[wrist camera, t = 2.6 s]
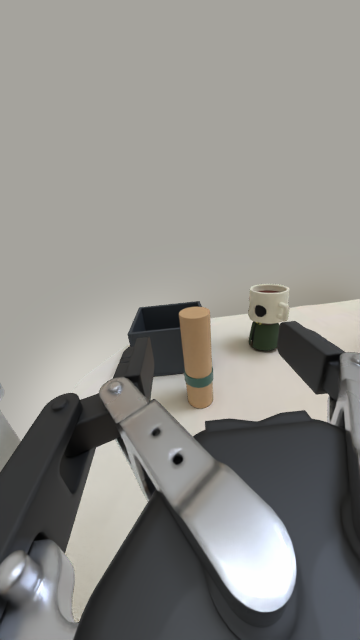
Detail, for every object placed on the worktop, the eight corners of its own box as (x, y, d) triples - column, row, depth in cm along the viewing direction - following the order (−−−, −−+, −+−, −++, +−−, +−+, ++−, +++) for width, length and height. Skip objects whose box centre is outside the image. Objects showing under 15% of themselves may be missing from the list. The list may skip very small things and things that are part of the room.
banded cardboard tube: (188, 410, 29) (178, 320, 23) (186, 389, 33) (177, 308, 27) (216, 407, 29) (214, 316, 23) (211, 387, 33) (207, 304, 27)
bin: (137, 378, 37) (127, 334, 33) (145, 342, 49) (139, 307, 45) (211, 370, 37) (210, 325, 33) (201, 336, 49) (199, 301, 45)
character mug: (236, 337, 47) (238, 285, 42) (262, 331, 48) (266, 280, 43) (265, 362, 37) (272, 299, 32) (296, 354, 39) (307, 292, 33)
